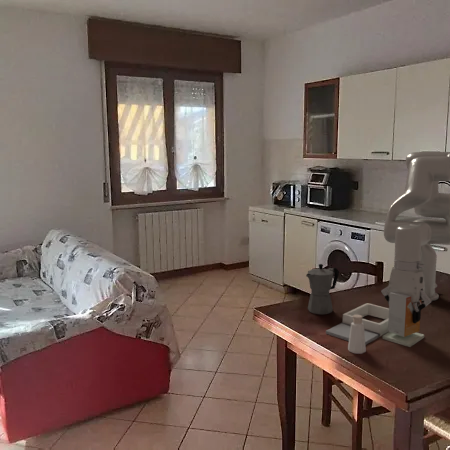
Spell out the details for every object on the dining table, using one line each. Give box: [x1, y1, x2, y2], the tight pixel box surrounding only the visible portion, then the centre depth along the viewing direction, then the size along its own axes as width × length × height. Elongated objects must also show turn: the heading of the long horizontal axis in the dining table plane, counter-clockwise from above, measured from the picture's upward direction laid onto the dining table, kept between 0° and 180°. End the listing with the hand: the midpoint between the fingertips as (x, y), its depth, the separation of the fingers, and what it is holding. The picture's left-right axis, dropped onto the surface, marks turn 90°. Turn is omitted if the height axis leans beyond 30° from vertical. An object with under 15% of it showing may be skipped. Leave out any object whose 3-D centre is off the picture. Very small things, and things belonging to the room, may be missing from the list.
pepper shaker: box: [347, 315, 367, 355], centre depth 143 cm, size 5×5×11 cm
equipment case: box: [325, 302, 389, 346], centre depth 160 cm, size 26×14×4 cm, turn 133°
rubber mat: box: [382, 332, 425, 348], centre depth 152 cm, size 10×9×1 cm
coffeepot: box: [305, 263, 340, 315], centre depth 178 cm, size 15×9×18 cm, turn 119°
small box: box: [388, 292, 422, 337], centre depth 151 cm, size 8×6×13 cm
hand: (404, 318), depth 151 cm, fingers closed on small box, 6 cm apart
